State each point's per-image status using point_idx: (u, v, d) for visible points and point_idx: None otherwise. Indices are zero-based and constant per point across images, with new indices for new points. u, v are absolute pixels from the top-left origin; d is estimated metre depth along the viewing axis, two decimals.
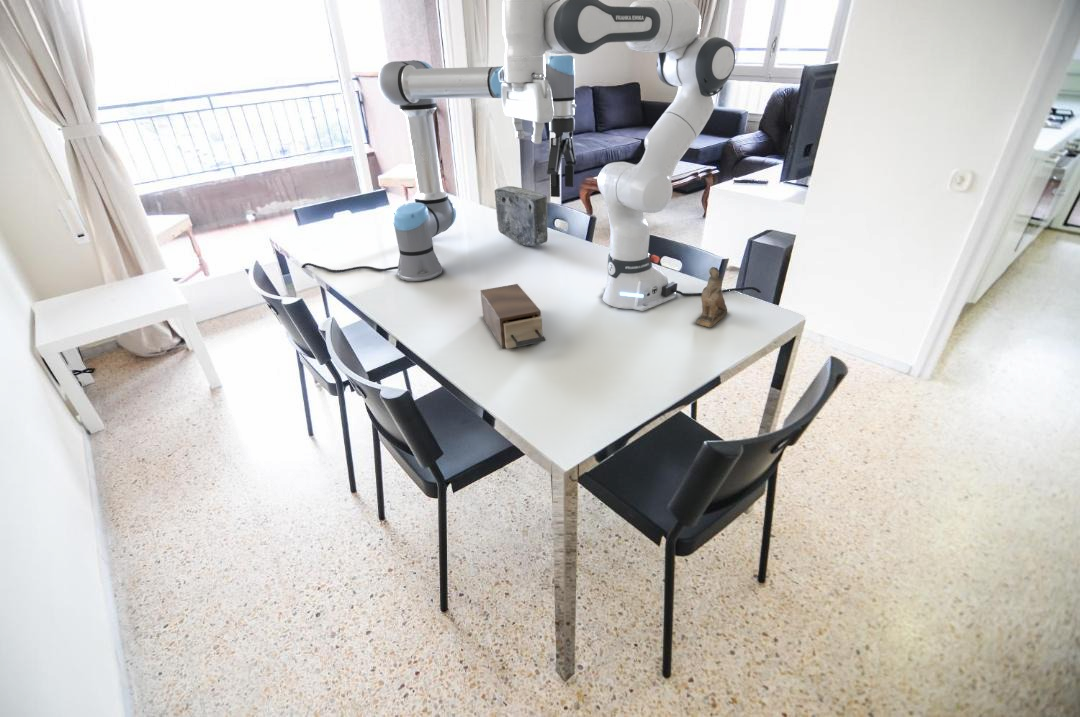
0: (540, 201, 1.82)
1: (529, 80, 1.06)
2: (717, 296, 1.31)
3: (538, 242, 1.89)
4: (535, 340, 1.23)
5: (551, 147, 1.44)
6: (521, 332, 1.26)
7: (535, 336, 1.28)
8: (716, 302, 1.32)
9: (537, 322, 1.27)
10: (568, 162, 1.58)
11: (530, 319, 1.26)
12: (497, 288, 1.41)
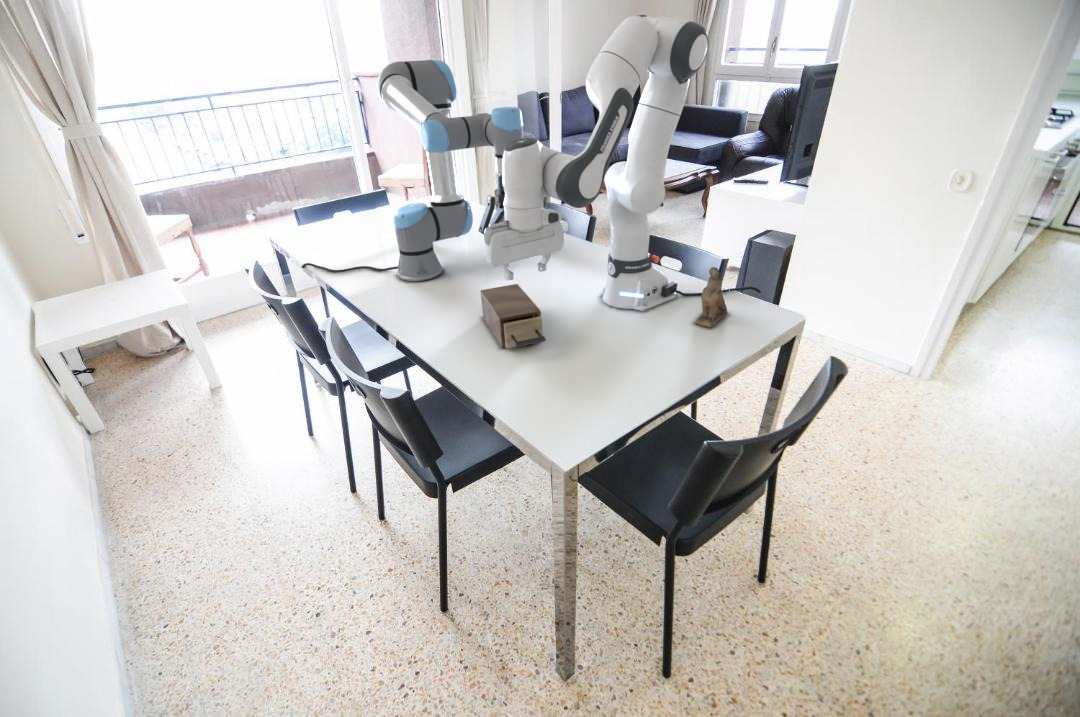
0: None
1: None
2: (717, 296, 1.31)
3: None
4: (535, 340, 1.23)
5: (487, 205, 1.31)
6: (521, 332, 1.26)
7: (535, 336, 1.28)
8: (716, 302, 1.32)
9: (537, 322, 1.27)
10: None
11: (530, 319, 1.26)
12: (497, 288, 1.41)
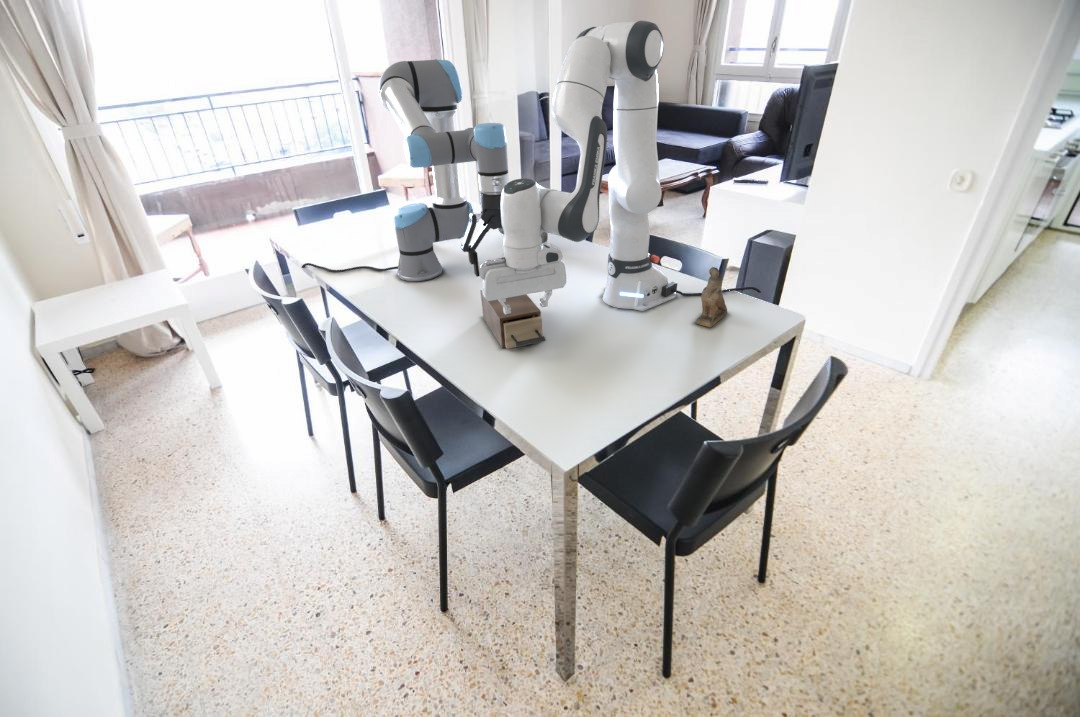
0: None
1: None
2: (717, 296, 1.31)
3: None
4: (535, 340, 1.23)
5: (469, 222, 1.27)
6: (521, 332, 1.26)
7: (535, 336, 1.28)
8: (716, 302, 1.32)
9: (537, 322, 1.27)
10: None
11: (530, 319, 1.26)
12: None
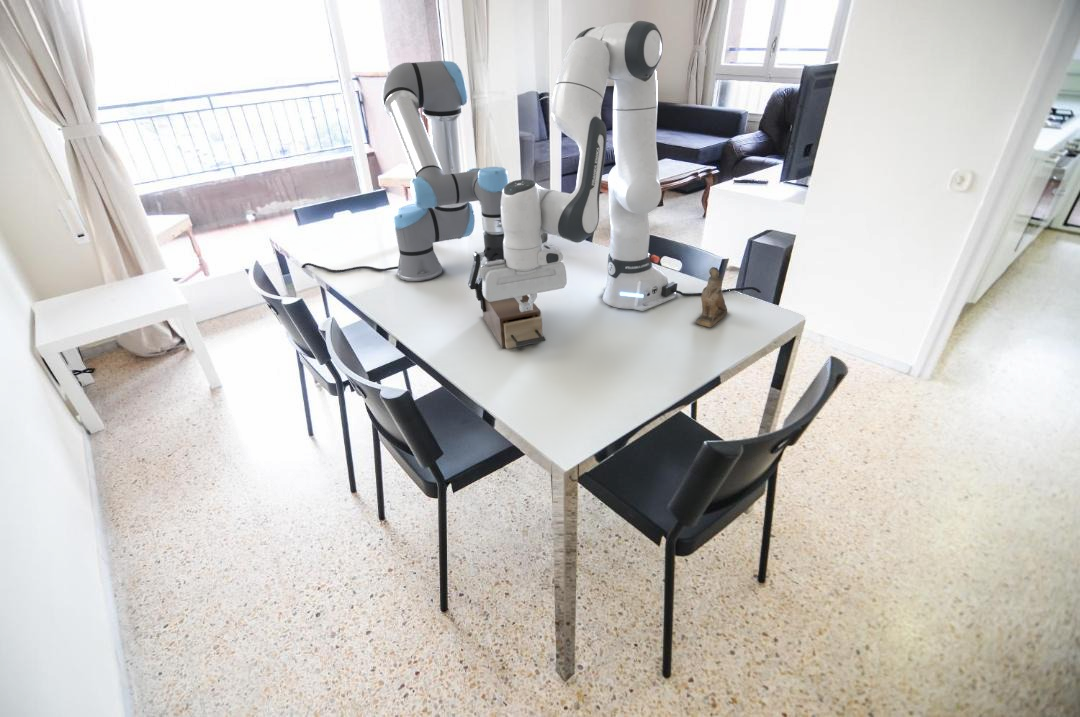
0: None
1: None
2: (717, 296, 1.31)
3: None
4: (535, 340, 1.23)
5: (474, 261, 1.33)
6: (521, 332, 1.26)
7: (535, 336, 1.28)
8: (716, 302, 1.32)
9: (537, 322, 1.27)
10: None
11: (530, 319, 1.26)
12: None
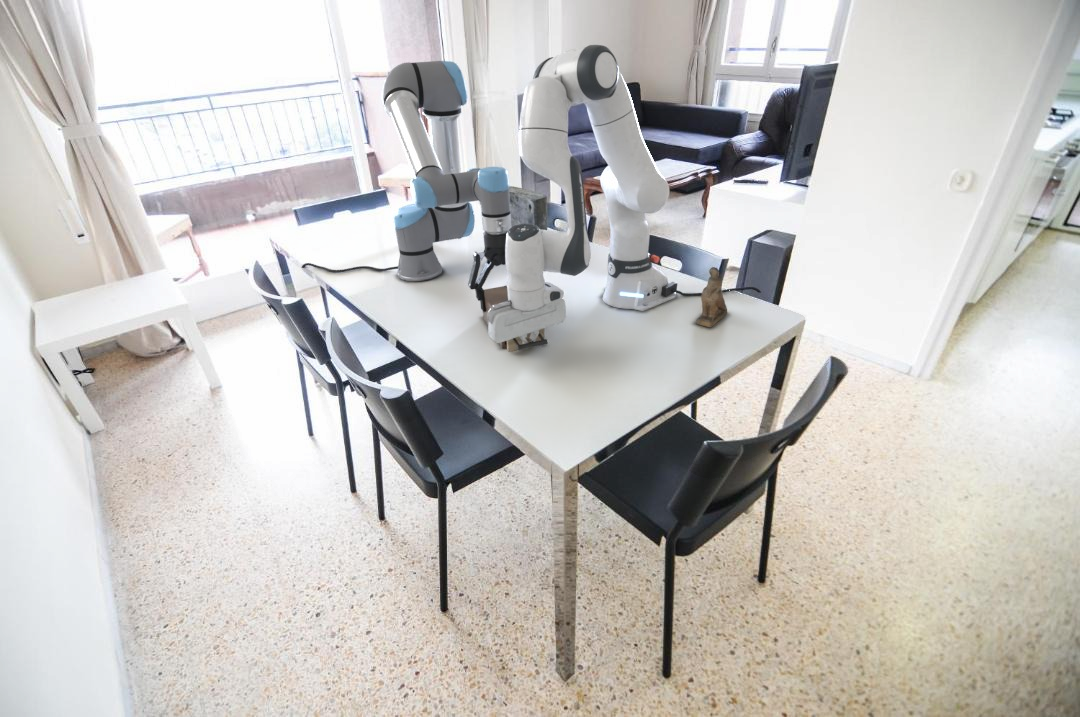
0: (540, 201, 1.82)
1: None
2: (717, 296, 1.31)
3: None
4: (537, 343, 1.21)
5: (474, 261, 1.33)
6: None
7: (537, 339, 1.27)
8: (716, 302, 1.32)
9: None
10: None
11: None
12: (497, 288, 1.41)
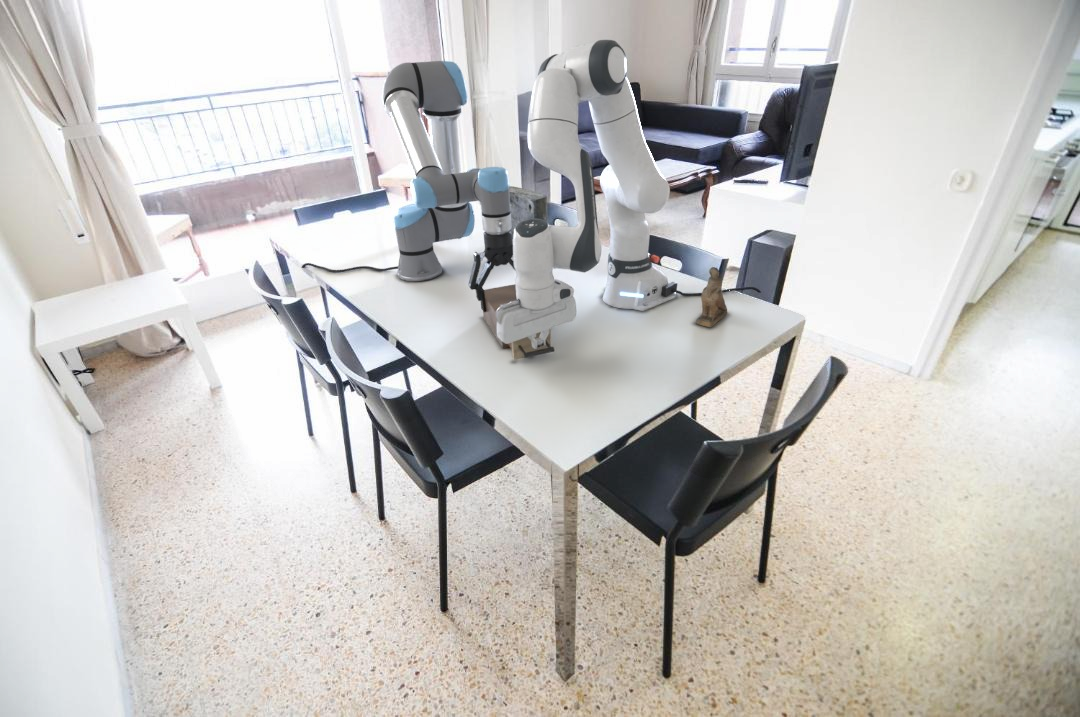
0: (540, 201, 1.82)
1: None
2: (717, 296, 1.31)
3: None
4: (544, 351, 1.18)
5: (474, 261, 1.33)
6: (529, 343, 1.22)
7: (543, 346, 1.24)
8: (716, 302, 1.32)
9: None
10: None
11: None
12: (497, 288, 1.41)
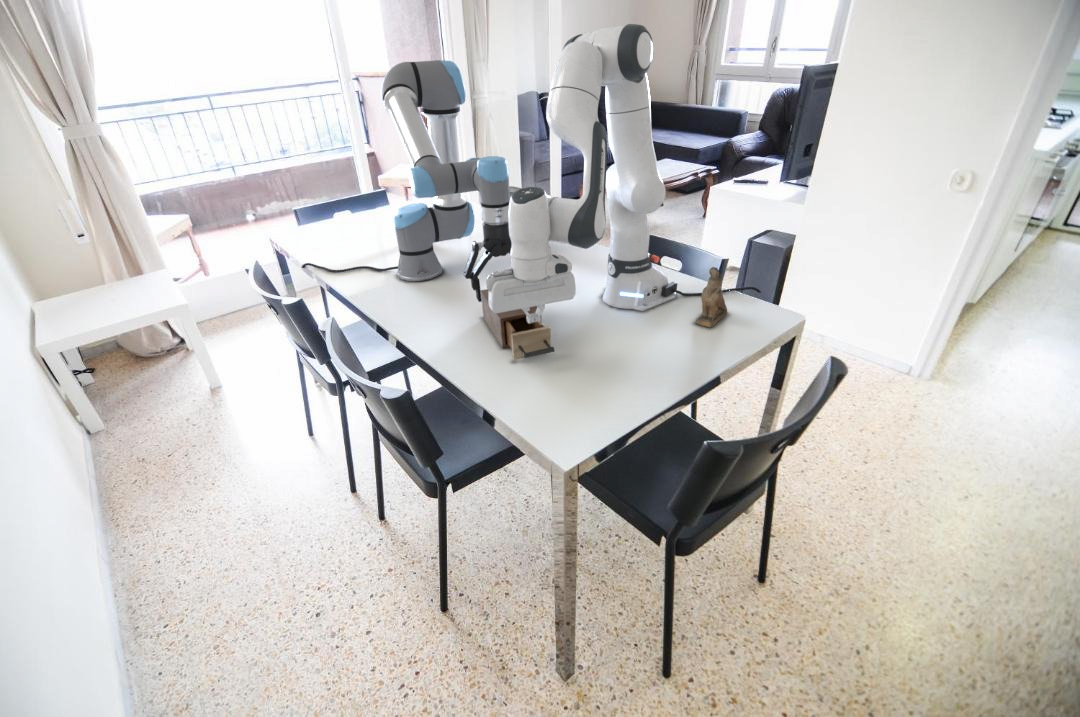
0: None
1: None
2: (717, 296, 1.31)
3: None
4: (544, 351, 1.18)
5: (472, 251, 1.31)
6: (529, 343, 1.22)
7: (543, 346, 1.24)
8: (716, 302, 1.32)
9: (546, 332, 1.22)
10: None
11: (538, 329, 1.21)
12: None
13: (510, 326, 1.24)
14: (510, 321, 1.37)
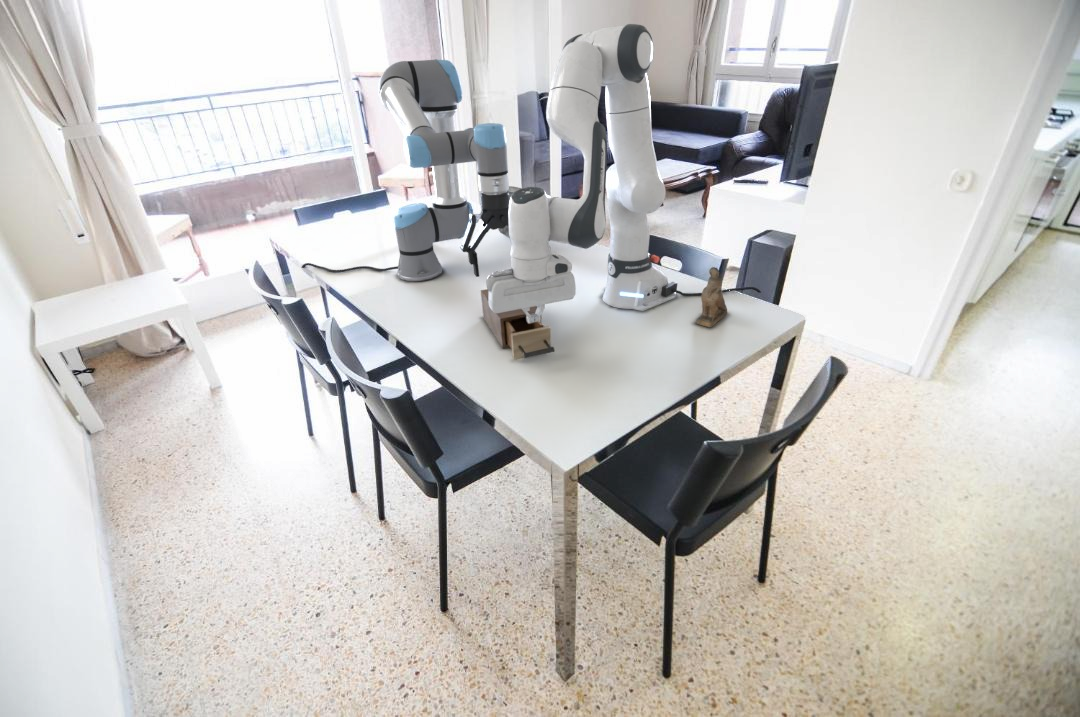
0: None
1: None
2: (717, 296, 1.31)
3: None
4: (544, 351, 1.18)
5: (469, 223, 1.27)
6: (529, 343, 1.22)
7: (543, 346, 1.24)
8: (716, 302, 1.32)
9: (546, 332, 1.22)
10: None
11: (538, 329, 1.21)
12: None
13: (510, 326, 1.24)
14: (510, 321, 1.37)
